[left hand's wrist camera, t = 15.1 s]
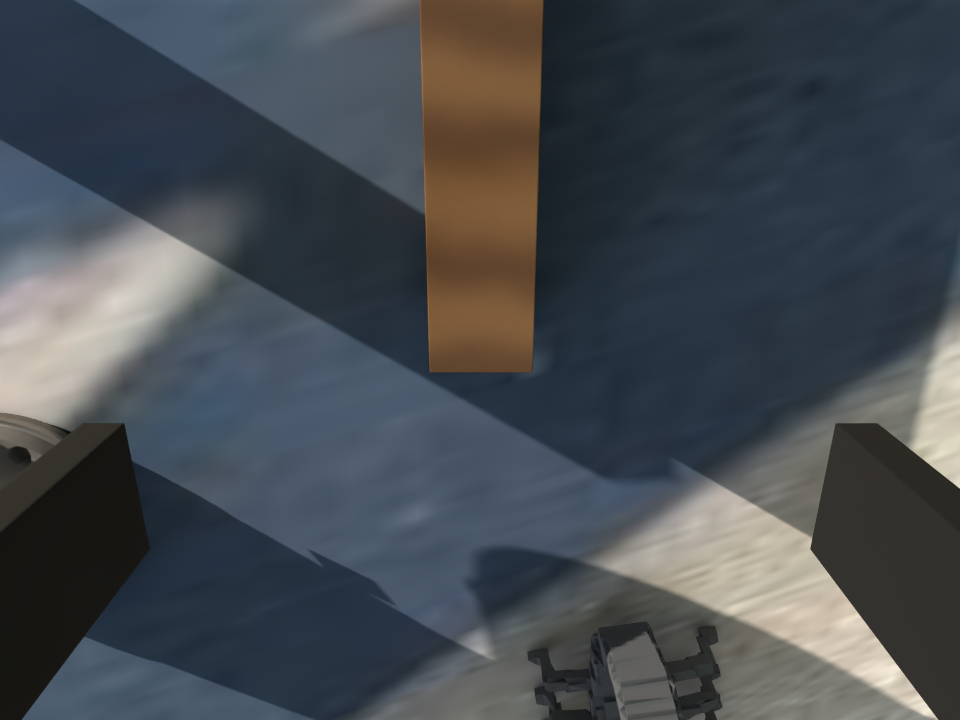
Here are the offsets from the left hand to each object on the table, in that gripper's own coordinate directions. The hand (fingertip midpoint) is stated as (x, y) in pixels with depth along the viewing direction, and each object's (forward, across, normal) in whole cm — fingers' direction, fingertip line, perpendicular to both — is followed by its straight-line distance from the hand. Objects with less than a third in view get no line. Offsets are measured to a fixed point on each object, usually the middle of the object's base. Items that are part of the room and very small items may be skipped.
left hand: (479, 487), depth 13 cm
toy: (+27, -10, +34) cm, 45 cm away
